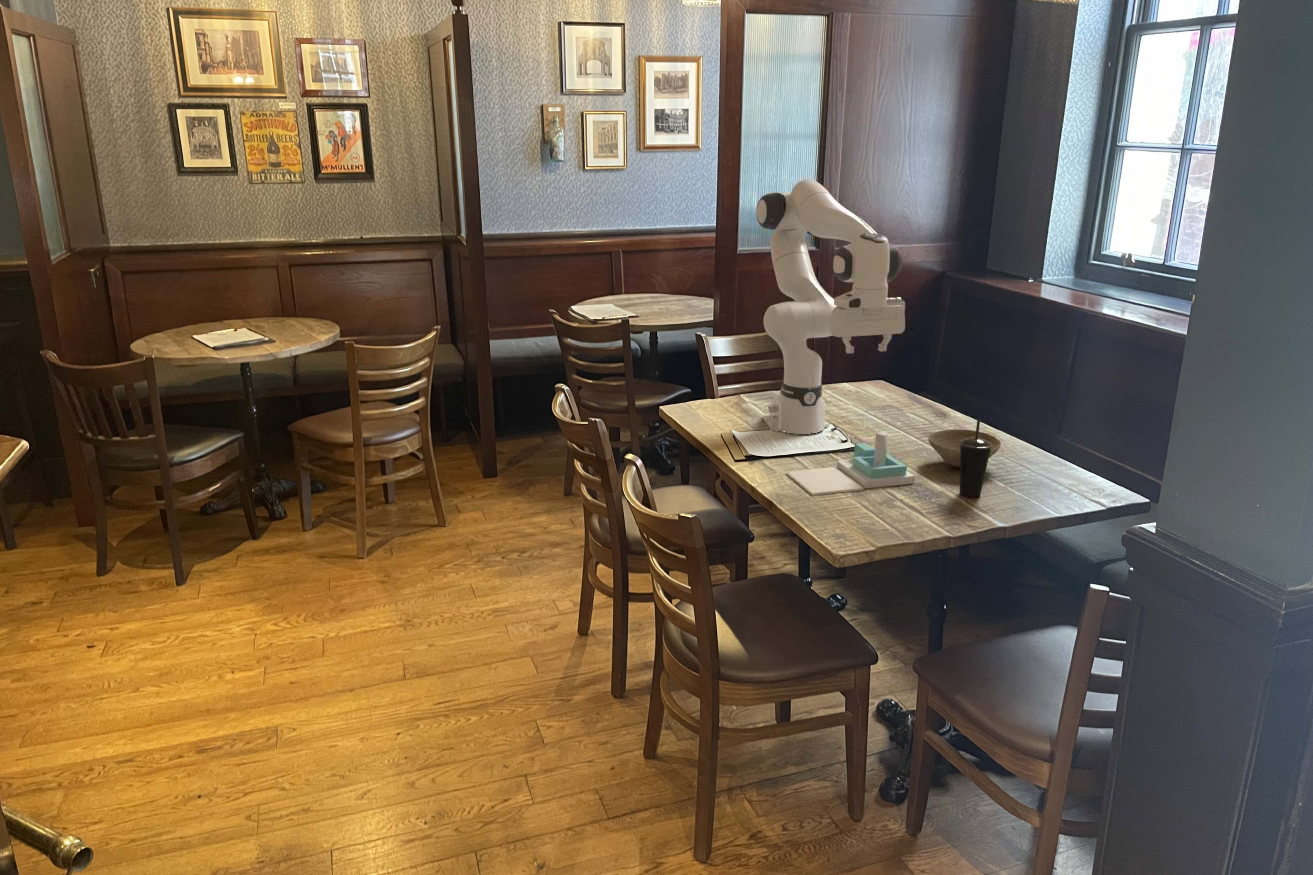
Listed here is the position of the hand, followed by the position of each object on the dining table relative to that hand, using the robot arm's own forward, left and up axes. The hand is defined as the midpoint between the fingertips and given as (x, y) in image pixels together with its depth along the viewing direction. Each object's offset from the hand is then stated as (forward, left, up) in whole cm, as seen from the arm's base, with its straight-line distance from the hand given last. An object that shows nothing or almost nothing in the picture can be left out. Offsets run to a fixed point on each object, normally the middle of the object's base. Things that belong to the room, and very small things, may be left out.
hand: (866, 352), depth 239 cm
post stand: (+8, +1, -31) cm, 32 cm away
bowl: (+8, +27, -32) cm, 42 cm away
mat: (+9, -14, -31) cm, 36 cm away
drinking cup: (+27, +17, -32) cm, 45 cm away
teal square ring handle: (+7, +1, -29) cm, 30 cm away
